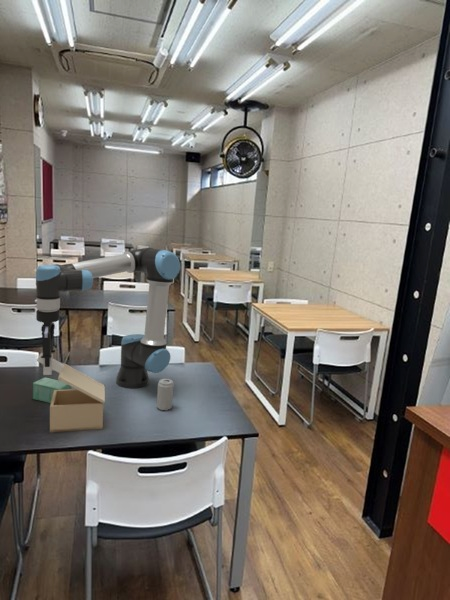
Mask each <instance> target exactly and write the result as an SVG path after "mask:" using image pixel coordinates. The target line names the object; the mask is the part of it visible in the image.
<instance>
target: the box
mask: <svg viewBox="0 0 450 600" xmlns="http://www.w3.org/2000/svg"><path fill="white" fill-rule="evenodd" d="M65 389H72V386H70V385H68V384H66V383H64V382H62V381H60V380H58V379H54V378H53V379H52V378H49V377H46V376H45V377H42V378H41V379H38V380H36V381H33V383H32V399H33V400H35V401H36V400H37V401H41V402H43V403H48V404H51V400H52V396H53V392H54V390H65Z"/></svg>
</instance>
